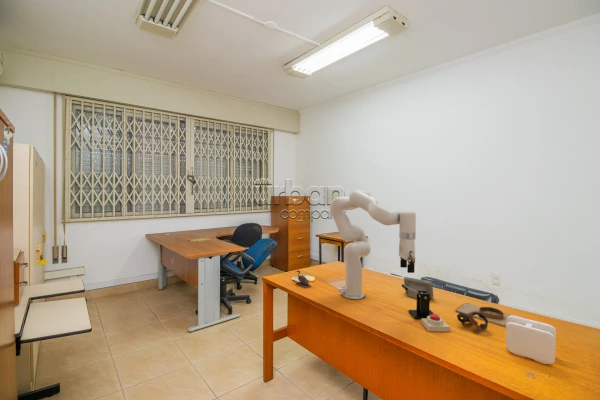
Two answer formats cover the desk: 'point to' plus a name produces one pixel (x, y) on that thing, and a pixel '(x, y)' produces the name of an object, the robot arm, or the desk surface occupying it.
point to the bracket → (422, 306)
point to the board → (485, 313)
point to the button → (435, 317)
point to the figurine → (302, 281)
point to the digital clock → (418, 286)
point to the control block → (434, 324)
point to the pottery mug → (470, 319)
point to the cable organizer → (531, 339)
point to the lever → (410, 289)
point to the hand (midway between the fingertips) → (407, 269)
